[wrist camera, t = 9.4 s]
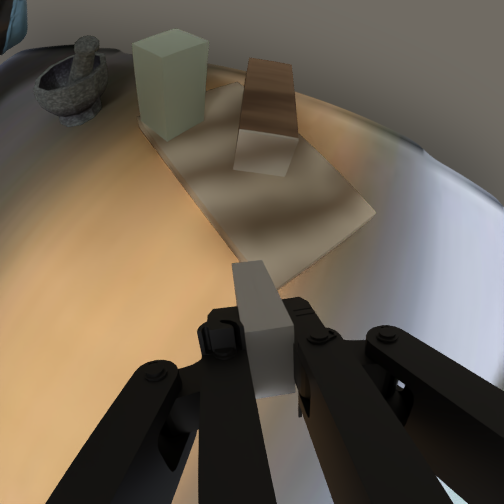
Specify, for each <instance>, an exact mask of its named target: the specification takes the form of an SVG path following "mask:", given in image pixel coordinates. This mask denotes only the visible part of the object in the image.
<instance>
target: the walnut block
mask: <svg viewBox="0 0 504 504" xmlns="http://www.w3.org/2000/svg"><path fill="white" fill-rule="evenodd" d="M298 141H299V138H298V126H297V114H296V103H295V93H294V84H293V74H292V65H290V64H285V63H279V62H274V61H268V60H262V59H255V58H249V62H248V68H247V73H246V79H245V85H244V91H243V98H242V105H241V112H240V120H239V127H238V135H237V142H236V150H235V158H234V166H233V170H239V171H246V172H254V173H261V174H268V175H275V176H281V177H285V175H286V173H287V170H288V168H289V165H290V162H291V160H292V157H293V154H294V152H295V149H296V147H297V144H298Z"/></svg>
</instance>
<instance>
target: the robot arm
mask: <svg viewBox="0 0 504 504" xmlns="http://www.w3.org/2000/svg"><path fill="white" fill-rule="evenodd" d="M26 34H27V2H26V0H0V55H2V54H4V53H5V52H6V51H7V50H8V49H10V48H12V47H13V46H15V45H17V44H18V43H20V42H21V41H22V40H23V39H24V37H25V36H26ZM232 270H233V279H234V287H235V295H236V303H237V306H235V307H227V308H218V309H213V310H212V311H211V312H210V313H209V315H208V319H207V322H205V323H203V324H202V325H201V326H200V327H199V328H198V330H197V334H198V339H199V344H200V349H201V353H202V359H201V360H199V361H198V362H196V363H195V364H193V365H190V366H187V367H184V368H180V369H178V368H177V366H176V365H175V364H174V363H172V362H171V361H166V360H155V361H150V362H147V363H145V364H143V365H142V366H140V367H139V368H138V369H137V370H136V371H135V372H134V374H133V375H132V377H131V378H130V379H129V381H128V382H127V384H126V385H125V387H124V388H123V389H122V391H121V392H120V394H119V395H118V396H117V398H116V399H115V401H114V402H113V404H112V405H111V407H110V408H109V409H108V411H107V412H106V414H105V415H104V417H103V418H102V419H101V421H100V422H99V424H98V425H97V427H96V428H95V430H94V431H93V433H92V434H91V435H90V437H89V438H88V440H87V441H86V443H85V444H84V446H83V447H82V449H81V450H80V452H79V453H78V455H77V456H76V458H75V459H74V461H73V462H72V464H71V465H70V467H69V468H68V470H67V471H66V473H65V474H64V476H63V477H62V479H61V480H60V482H59V483H58V485H57V486H56V488H55V489H54V491H53V493H52V494H51V496H50V497H49V499H48V500H47V502H46V503H45V504H171V503H172V500H173V497H174V495H175V492H176V489H177V486H178V484H179V481H180V478H181V476H182V473H183V470H184V467H185V465H186V462H187V459H188V456H189V454H190V451H191V448H192V445H193V443H194V440H195V437H196V434H197V430H198V429H199V455H198V503H199V504H277V502H276V498H275V493H274V488H273V483H272V479H271V474H270V469H269V464H268V459H267V454H266V449H265V444H264V439H263V434H262V429H261V424H260V419H259V414H258V408H257V403H256V399H259V398H266V397H272V396H278V395H284V394H290V393H295V383H296V386H297V388H298V416H299V417H302V414H303V417H304V419H305V422H306V425H307V428H308V431H309V434H310V437H311V439H312V442H313V445H314V448H315V451H316V454H317V457H318V459H319V462H320V465H321V468H322V471H323V474H324V476H325V479H326V482H327V485H328V488H329V491H330V493H331V496H332V499H333V502H334V504H453V502H452V501H451V499H450V497H449V496H448V494H447V493H446V491H445V489H444V488H443V486H442V485H441V483H440V482H439V480H438V478H439V479H440V480H442V481H443V482H444V483H445V484H446V485H447V486H448V487H450V488H451V489H452V490H453V491H454V492H455V493H456V494H458V495H459V496H460V497H461V498H462V499H463V500H464V501H466V502H467V503H468V504H504V391H502V390H501V389H499V388H497V387H496V386H494V385H493V384H491V383H489V382H488V381H486V380H484V379H483V378H481V377H480V376H478V375H476V374H475V373H473V372H471V371H470V370H468V369H466V368H465V367H463V366H462V365H460V364H458V363H457V362H455V361H453V360H452V359H450V358H448V357H447V356H445V355H443V354H442V353H440V352H438V351H437V350H435V349H434V348H432V347H430V346H429V345H427V344H425V343H424V342H422V341H420V340H419V339H417V338H415V337H414V336H412V335H410V334H409V333H407V332H405V331H404V330H402V329H400V328H397V327H394V326H389V325H385V326H384V325H382V326H377V327H374V328H372V329H370V330H369V331H368V333H367V334H366V340H343V338H342V337H341V335H340V334H339V333H338V332H337V331H335V330H333V329H330V328H325V326H324V325H323V323H322V322H321V320H320V319H319V317H318V316H317V314H315V311H314V310H313V308H312V307H311V305H310V304H309V302H308V301H306V300H304V299H302V298H301V297H295V298H288V299H281V298H280V296H279V294H278V292H277V289H276V287H275V285H274V283H273V281H272V279H271V277H270V275H269V273H268V271H267V269H266V267H265V265H264V263H263V261H262V260H256V261H248V262H239V263H232ZM398 380H400V381H401V382H402V383H403V384H405V387H404V388H401V387H400V386H398V385H397V384H398ZM436 476H437V477H438V478H437V477H436Z"/></svg>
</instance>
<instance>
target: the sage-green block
mask: <svg viewBox="0 0 504 504" xmlns="http://www.w3.org/2000/svg"><path fill="white" fill-rule="evenodd" d="M208 49H209V41H207V40H205V39H202V38H200V37H197V36H195V35H192V34H190V33H187V32H185V31H182V30H179V29H177V28H175V29H172V30H169V31H165V32H163V33H159V34H157V35H154V36H151V37H148V38H145V39H143V40H140V41H137V42H135V43H132V51H133V62H134V71H135V80H136V88H137V96H138V103H139V110H140V117H141V121H142V122H143V123H144V124H146V125H147V126H148V127H149V128H151V129H152V130H153V131H154V132H156V133H157V134H158V135H159V136H161V137H162V138H163V139H164V140H166V141H167V142H168V141H170V140H171V139H173V138H175V137H176V136H178V135H180V134H181V133H183V132H185V131H187V130H188V129H190V128H192V127H194V126H195V125H197V124H199V123H201V122H202V121H204V109H205V91H206V75H207V60H208Z"/></svg>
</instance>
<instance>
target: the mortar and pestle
mask: <svg viewBox="0 0 504 504" xmlns="http://www.w3.org/2000/svg"><path fill="white" fill-rule="evenodd" d="M98 49H99V40H98V39H97V38H96V37H94V36H84V37H81V38H79V39H78V40H77V41H76V42H75V45H74V52H75V54H74V55H72V56H69V57H67V58H65V59H63V60H61V61H59V62H57V63H55V64H53V65H52V66H50V67H49V68H48V69H47V70H46V71H44V72H43V73H42V74H41V75H40V76H39V77H38V78H37V79H36V82H35V86H34V90H33V91H34V94H35V97H36V99H37V101H38V102H39V104H40V105H41V107H42V108H44V109H45V110H47V111H48V112H50V113H53V114H55V115H57V116H59V120H60V123H61V124H63V125H65V126H67V127H71V126H77V125H82V124H83V123H85V122H87V121H89V120H90V119H92V118H94V117H95V116H96V115H97V113H98V112H99V111H100V109H101V108H102V106H101V100H100V96H101V95H102V93H103V92H104V91H105V88H106V85H107V83H108V70H107V64H106V58H105V54H104V53H98V52H96V51H97V50H98Z"/></svg>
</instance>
